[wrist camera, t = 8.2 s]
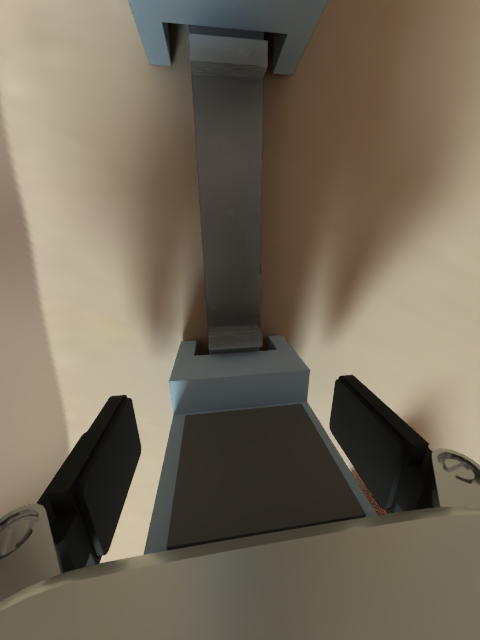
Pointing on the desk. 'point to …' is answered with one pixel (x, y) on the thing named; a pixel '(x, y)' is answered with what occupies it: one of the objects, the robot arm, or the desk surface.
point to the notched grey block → (246, 452)
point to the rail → (230, 179)
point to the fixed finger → (230, 24)
